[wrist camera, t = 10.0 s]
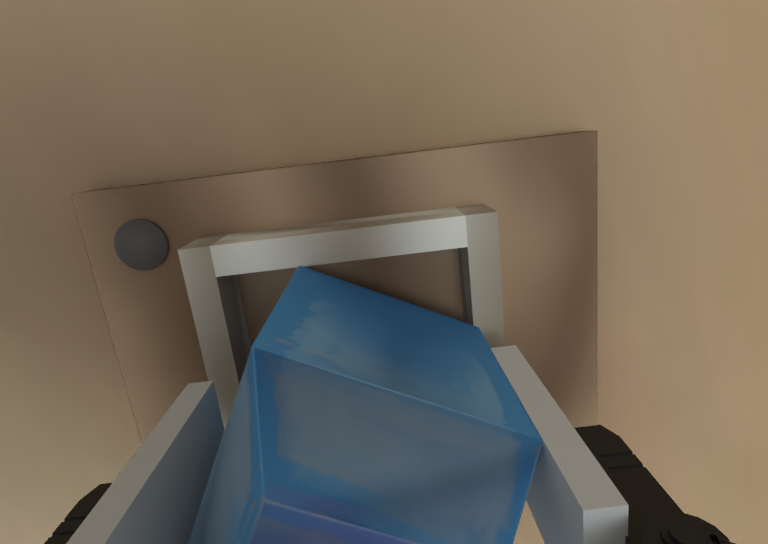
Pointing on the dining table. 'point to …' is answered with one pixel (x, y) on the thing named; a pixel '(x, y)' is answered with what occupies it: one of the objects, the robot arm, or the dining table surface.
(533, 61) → the dining table surface
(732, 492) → the dining table surface
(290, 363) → the perfume bottle
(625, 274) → the dining table surface
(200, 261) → the brown board with frame
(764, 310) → the dining table surface
